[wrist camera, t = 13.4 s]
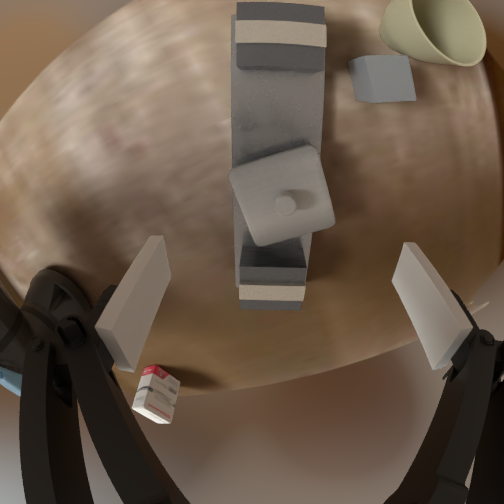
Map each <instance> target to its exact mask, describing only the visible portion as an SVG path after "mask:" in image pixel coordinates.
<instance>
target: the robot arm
mask: <svg viewBox="0 0 504 504" xmlns="http://www.w3.org/2000/svg"><path fill="white" fill-rule="evenodd" d="M170 279H171V272H170V267H169V262H168V257H167V252H166V246H165V241H164V235H150V237H149V238H148V240H147V241H146V243H145V244H144V246H143V247H142V249H141V250H140V252H139V253H138V255H137V256H136V258H135V259H134V261H133V263H132V264H131V266H130V267H129V269H128V271H127V272H126V274H125V275H124V277H123V279H122V280H121V282H120V284H119V285H111V286H109V287H108V288H107V289H106V290H105V291H103V293H102V295H101V296H100V298H99V301H97V303H96V304H95V307H94V308H93V309H92V311H91V308H90V305H89V303H88V301H87V299H86V298H85V296H84V295H83V293H82V292H81V291H80V290H79V288H78V287H77V286H76V285H75V284H74V283H73V282H72V281H70V280H69V279H68V278H66V277H65V276H64V275H62V274H60V273H58V272H56V271H53V270H49V269H44V270H41V271H39V272H38V273H37V274H36V275H35V277H34V278H33V279H32V281H31V283H30V287H29V289H28V292H27V295H26V297H25V300H24V303H23V305H22V307H21V308H20V309H19V308H18V306H17V305H16V304H15V302H14V301H13V299H12V298H11V296H10V295H9V293H8V292H7V290H6V289H5V287H4V286H3V284H2V283H1V281H0V384H1V385H3V386H4V387H6V388H7V389H8V390H10V391H12V392H13V393H15V394H17V395H18V396H20V416H19V418H20V419H19V440H20V458H21V470H22V479H23V486H24V493H25V498H26V503H27V504H94V502H93V498H92V494H91V491H90V486H89V482H88V477H87V473H86V467H85V462H84V457H83V450H82V444H81V436H80V428H79V418H78V406H77V399H78V403H79V406H80V409H81V412H82V415H83V417H84V420H85V423H86V426H87V428H88V431H89V433H90V436H91V438H92V441H93V443H94V446H95V448H96V450H97V452H98V455H99V457H100V459H101V461H102V464H103V466H104V468H105V470H106V472H107V474H108V476H109V478H110V479H111V482H112V484H113V485H114V487H115V489H116V491H117V492H118V494H119V496H120V498H121V500H122V501H123V503H124V504H190V502H189V501H188V500H187V499H186V498H185V497H184V495H183V494H182V492H181V491H180V490H179V488H178V487H177V486H176V484H175V483H174V481H173V480H172V478H171V477H170V476H169V474H168V473H167V471H166V470H165V468H164V466H163V465H162V464H161V462H160V460H159V459H158V457H157V456H156V454H155V452H154V451H153V449H152V447H151V446H150V444H149V442H148V441H147V439H146V437H145V435H144V434H143V432H142V430H141V428H140V426H139V424H138V423H137V421H136V419H135V417H134V415H133V413H132V412H131V409H130V407H129V405H128V403H127V401H126V399H125V397H124V395H123V392H122V390H121V388H120V386H119V384H118V381H117V379H116V377H115V374H114V372H113V371H112V366H113V364H114V362H115V364H116V366H117V367H118V369H119V370H124V371H129V372H135V369H136V366H137V363H138V361H139V358H140V355H141V352H142V350H143V347H144V344H145V342H146V339H147V336H148V334H149V331H150V328H151V326H152V323H153V321H154V318H155V316H156V313H157V311H158V308H159V306H160V303H161V301H162V298H163V296H164V293H165V291H166V289H167V286H168V284H169V282H170ZM392 283H393V285H394V287H395V289H396V291H397V293H398V294H399V296H400V298H401V300H402V302H403V304H404V306H405V308H406V311H407V313H408V315H409V317H410V319H411V321H412V323H413V325H414V327H415V330H416V332H417V334H418V336H419V339H420V341H421V343H422V345H423V348H424V350H425V352H426V355H427V357H428V360H429V362H430V365H431V367H432V369H433V370H435V369H440V368H444V367H445V366H446V365H447V364H448V362H449V361H450V360H451V361H452V363H453V365H452V367H451V368H450V369H449V370H448V371H447V373H446V374H445V375H444V376H443V378H442V379H443V380H444V379H445V378H446V377H447V376H448V377H447V380H446V384H445V387H444V390H443V393H442V396H441V398H440V401H439V404H438V407H437V410H436V412H435V415H434V417H433V420H432V422H431V425H430V427H429V429H428V432H427V434H426V436H425V439H424V441H423V443H422V445H421V447H420V449H419V451H418V453H417V455H416V457H415V459H414V461H413V463H412V465H411V467H410V469H409V471H408V472H407V474H406V476H405V477H404V479H403V481H402V483H401V484H400V486H399V488H398V489H397V490H396V491H395V492H394V493H393V494H392V495H391V496H390V497H389V498H388V499H387V500H386V501H385V502H384V504H464V503H465V501H466V504H504V380H503V381H502V382H501V377H502V375H503V374H504V341H497V340H495V339H494V337H493V335H492V334H491V333H490V332H488V331H486V330H483V329H482V330H480V329H479V328H478V326H477V324H476V322H475V321H474V319H473V317H472V316H471V314H470V313H469V311H468V310H467V308H466V306H465V305H464V304H463V302H462V300H461V299H460V297H459V296H458V295H457V294H456V293H455V292H454V291H453V290H449V288H448V287H447V285H446V284H445V282H444V281H443V279H442V278H441V276H440V275H439V274H438V272H437V271H436V269H435V268H434V267H433V265H432V264H431V263H430V261H429V260H428V259H427V257H426V256H425V255H424V253H423V252H422V251H421V249H420V248H419V247H418V246H417V244H416V243H414V242H404V245H403V248H402V251H401V255H400V258H399V261H398V264H397V267H396V270H395V273H394V276H393V278H392ZM474 456H475V461H474V467H473V473H472V478H471V483H470V488H469V490H468V488H467V487H466V486H465V481H466V478H467V475H468V473H469V470H470V468H471V465H472V462H473V459H474ZM466 499H467V500H466Z"/></svg>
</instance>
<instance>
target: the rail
mask: <svg viewBox="0 0 504 504" xmlns="http://www.w3.org/2000/svg"><path fill="white" fill-rule="evenodd" d="M325 48H326V25H325V19H324V7H321V6H313V5H304V4H293V3H277V2H237V15H231V123H232V168H234V167H236V166H239V165H242V164H245V163H248V162H251V161H255V160H258V159H261V158H264V157H267V156H270V155H274V154H277V153H280V152H284V151H287V150H290V149H294V148H297V147H301V146H304V145H308V144H310V145H313V146H314V147H315V148H316V149H317V151H318V154H319V157H320V153H321V140H322V125H323V107H324V83H325ZM233 216H234V247H235V274H236V287H239V299H240V307H241V309H256V310H301V304H302V301H303V300H304V294H305V288H306V285H305V282H306V275H307V268H308V261H309V254H310V247H311V239H312V233H309V234H305V235H302V236H298V237H295V238H291V239H287V240H284V241H280V242H277V243H273V244H269V245H266V246H257V245H256V244H255V243H254V240H253V238H252V235H251V233H250V230H249V228H248V225H247V223H246V220H245V218H244V215H243V212H242V210H241V207H240V205H239V202H238V200H237V197H236V195H235V192H234V190H233Z"/></svg>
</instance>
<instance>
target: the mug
mask: <svg viewBox="0 0 504 504" xmlns="http://www.w3.org/2000/svg"><path fill="white" fill-rule="evenodd" d="M379 32H380V36H381V38H382V40H383V42H384V43H385V44H386V45H387V46H388V47H389V48H391V49H392V50H394V51H396V52H399V53H401V54H404V55H408V57H411V58H413V59H416V60H419V61H423V62H429V63H437V64H448V65H457V66H465V67H468V66H473V65H476V64H478V63H479V62H480V61H481V60H482V58H483V56H484V54H485V51H486V34H485V30H484V27H483V24H482V21H481V19H480V17H479V15H478V13H477V12H476V10H475V8H474V7H473V6H472V4H471V3H470V2H469V1H468V0H392V1H391V2H390V3H389V5H388V6H387V8H386V10H385V12H384V15H383V18H382V21H381V24H380V27H379Z"/></svg>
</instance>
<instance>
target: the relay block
mask: <svg viewBox="0 0 504 504" xmlns="http://www.w3.org/2000/svg"><path fill="white" fill-rule="evenodd" d="M347 63H348V67H349V71H350V75H351V79H352V83H353V88H354V92H355V97H356V101H364V102H370V103H383V102H398V101H417V100H416V94H415V88H414V83H413V77H412V73H411V68H410V63H409V59H408V55H368V56H362V57H358V58H355V59H352V60H349V61H347Z"/></svg>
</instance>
